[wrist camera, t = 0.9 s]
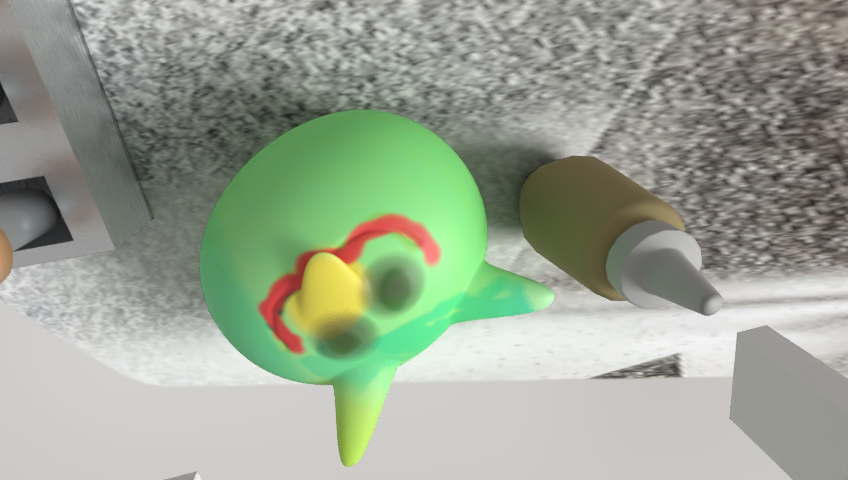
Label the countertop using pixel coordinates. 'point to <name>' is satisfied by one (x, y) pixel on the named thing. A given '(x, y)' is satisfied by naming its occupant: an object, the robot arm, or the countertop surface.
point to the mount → (63, 135)
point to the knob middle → (1, 95)
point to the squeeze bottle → (613, 236)
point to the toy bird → (352, 258)
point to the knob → (23, 221)
